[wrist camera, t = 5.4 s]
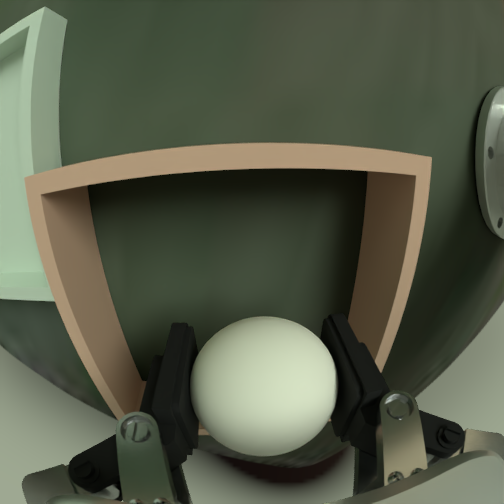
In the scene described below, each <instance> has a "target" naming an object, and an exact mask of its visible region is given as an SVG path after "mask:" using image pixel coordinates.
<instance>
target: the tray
mask: <svg viewBox="0 0 504 504" xmlns="http://www.w3.org/2000/svg"><path fill="white" fill-rule="evenodd" d="M66 25H67V20H66V19H65V18H63V17H62V16H60V15H58V14H57V13H55V12H53V11H52V10H50V9H48V8H46V7H43V8H42V9H40V10H38V11H36V12H34V13H33V14H31V15H29V16H27V17H26V18H24V19H22V20H21V21H19V22H18V23H16V24H14V25H13V26H11V27H10V28H8V29H7V30H5V31H4V32H3V33H1V34H0V299H14V300H34V301H55V300H54V297H53V294H52V292H51V289H50V286H49V283H48V280H47V277H46V274H45V271H44V268H43V264H42V261H41V258H40V254H39V250H38V247H37V243H36V239H35V235H34V231H33V226H32V222H31V217H30V212H29V206H28V200H27V194H26V188H25V180H24V177H28V176H31V175H34V174H37V173H41V172H44V171H48V170H51V169H55V168H59V167H62V164H61V153H60V137H59V86H60V71H61V60H62V51H63V44H64V37H65V31H66Z"/></svg>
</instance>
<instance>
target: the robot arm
mask: <svg viewBox="0 0 504 504" xmlns="http://www.w3.org/2000/svg"><path fill="white" fill-rule="evenodd" d="M475 172H476V185H477V192H478V198H479V204H480V207H481V211H482V215H483V218H484V220H485V222H486V224H487V226H488V228H489V229H490V230H491V232H492V233H494V234H495V235H497V236H498V237H500V238H502V239H504V86H497V87H495V88H493V89H492V90H491V91H490V92H489V93H488V95H487V96H486V98H485V100H484V103H483V105H482V108H481V112H480V116H479V120H478V127H477V134H476V148H475ZM320 340H321V341H322V343H323V344H324V345H325V347H326V348H327V349H328V351H329V353H330V355H331V356H332V359H333V361H334V363H335V366H336V370H337V374H338V396H337V400H336V404H335V408H334V410H333V413H332V415H331V417H330V419H331V422H332V426H333V429H334V432H335V435H336V436H337V437H338V436H340V438H341V441H342V442H345V441H349V440H350V443H351V446H354V447H355V467H354V486H353V496H352V497H349V498H345V499H342V500H337V501H333V502H328V503H325V504H504V436H502V435H501V434H499V433H493V432H485V431H479V430H473V429H466V430H465V431H463V429H462V428H461V426H460V425H459V424H457V423H455V422H452V421H449V420H446V419H443V418H440V417H437V416H435V415H432V414H429V413H426V412H423V411H421V410H419V409H418V405H417V402H416V400H415V399H414V397H413V396H412V395H410V394H409V393H407V392H404V391H391V392H390V390H389V388H388V386H387V384H386V382H385V380H384V378H383V376H382V374H381V372H380V371H379V369H378V367H377V365H376V363H375V361H374V359H373V357H372V355H371V354H370V352H369V350H368V348H367V346H366V345H365V343H363V342H360V343H359V341H358V339H357V337H356V336H355V334H354V332H353V330H352V328H351V326H350V324H349V323H348V321H347V319H346V317H345V315H344V314H343V313H340V314H330V315H329V316H328V318H327V319H324V321H323V326H322V332H321V338H320ZM197 356H198V350H197V345H196V340H195V335H194V330H193V327H192V326H191V327H188V324H187V323H172V326H171V330H170V333H169V337H168V341H167V345H166V349H165V353H164V356H161V355H155V356H154V358H153V360H152V364H151V368H150V371H149V375H148V379H147V382H146V386H145V390H144V394H143V398H142V402H141V406H140V410H139V412H132V413H128V414H126V415H125V416H123V417H122V418H121V419H120V420H119V422H118V424H117V426H116V434H115V435H113V436H111V437H110V438H108V439H106V440H104V441H103V442H101V443H99V444H97V445H95V446H93V447H91V448H89V449H87V450H86V451H84V452H82V453H80V454H78V455H76V456H75V457H73V458H72V460H71V461H70V462H69V465H67V466H65V465H64V464H61V465H58V466H55V467H52V468H49V469H45V470H42V471H39V472H35V473H31V474H28V475H27V476H25V478H24V479H23V481H22V489H23V492H24V495H25V498H26V501H27V504H193V503H192V501H191V497H190V494H189V490H188V487H187V484H186V480H185V477H184V473H183V469H182V465H181V464H182V463H183V462H185V461H186V460H187V455H192V451H193V448H195V449H197V447H198V433H199V420H198V418H197V416H196V414H195V412H194V409H193V406H192V402H191V397H190V377H191V372H192V368H193V365H194V362H195V360H196V358H197ZM122 500H123V502H121V501H122Z"/></svg>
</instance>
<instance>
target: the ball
mask: <svg viewBox="0 0 504 504" xmlns="http://www.w3.org/2000/svg"><path fill="white" fill-rule="evenodd" d="M337 396H338V374H337V370H336V366H335V363H334V361H333V359H332V356H331V355H330V353H329V351H328V349H327V348H326V347H325V345H324V344H323V343H322V341H321V340H320V339H319V338H318V337H317V336H316V335H314V334H313V333H312V332H311V331H310V330H308V329H307V328H305V327H303V326H301V325H300V324H297V323H295V322H293V321H290V320H287V319H283V318H278V317H270V316H260V317H251V318H247V319H243V320H240V321H237V322H235V323H232V324H230V325H228V326H226V327H225V328H223V329H221V330H220V331H219V332H217V333H216V334H215V335H214V336H213V337H212V338H210V339H209V340H208V341H207V342H206V344H205V345H204V346H203V348H202V349H201V351H200V352H199V354H198V356H197V358H196V360H195V362H194V365H193V368H192V372H191V377H190V397H191V402H192V406H193V409H194V412H195V414H196V416H197V418H198V420H199V422H200V423H201V425H202V426H203V427H204V428H205V430H206V431H207V432H208V433H209V434H210V435H211V436H212V437H213V438H214V439H215V440H217V441H218V442H219V443H221V444H223V445H224V446H226V447H227V448H230V449H232V450H234V451H237V452H240V453H243V454H247V455H254V456H274V455H279V454H284V453H287V452H290V451H292V450H295V449H297V448H299V447H301V446H303V445H304V444H306V443H307V442H309V441H310V440H311V439H313V438H314V437H315V436H316V435H317V434H318V433H319V432H320V431H321V430H322V429H323V428H324V426H325V425H326V423H327V422H328V420H329V419H330V417H331V415H332V413H333V410H334V408H335V404H336V400H337Z"/></svg>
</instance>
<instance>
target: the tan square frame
mask: <svg viewBox="0 0 504 504" xmlns="http://www.w3.org/2000/svg"><path fill="white" fill-rule="evenodd" d="M431 162H432V157H427V156H422V155H416V154H411V153H405V152H398V151H392V150H385V149H377V148H368V147H359V146H348V145H335V144H318V143H290V142H252V143H223V144H206V145H193V146H182V147H172V148H163V149H155V150H147V151H140V152H133V153H127V154H121V155H115V156H109V157H104V158H98V159H93V160H89V161H84V162H79V163H75V164H71V165H66V166H63V167H59V168H55V169H51V170H48V171H44V172H41V173H37V174H34V175H31V176H28V177H24V180H25V188H26V194H27V200H28V206H29V212H30V217H31V222H32V226H33V231H34V235H35V239H36V243H37V247H38V250H39V254H40V258H41V261H42V264H43V268H44V271H45V274H46V277H47V280H48V283H49V286H50V289H51V292H52V294H53V297H54V300H55V302H56V305H57V308H58V310H59V313H60V315H61V317H62V320H63V322H64V324H65V327H66V329H67V331H68V333H69V336H70V338H71V340H72V342H73V344H74V346H75V348H76V350H77V352H78V354H79V356H80V358H81V360H82V362H83V364H84V366H85V368H86V369H87V371H88V373H89V375H90V377H91V378H92V380H93V382H94V383H95V385H96V387H97V389H98V390H99V392H100V393H101V395H102V397H103V398H104V400H105V401H106V403H107V404H108V406H109V408H110V409H111V411H112V412H113V414H114V415H115V416H116V418H117V419H118V421H119V420H120V419H121V418H122V417H123V416H125V415H126V414H128V413H132V412H139V410H140V406H141V402H142V398H143V394H144V390H145V386H146V382H147V381H142V379H141V377H140V375H139V373H138V370H137V368H136V365H135V363H134V361H133V358H132V356H131V353H130V351H129V348H128V345H127V343H126V340H125V337H124V335H123V332H122V329H121V326H120V323H119V320H118V317H117V314H116V311H115V308H114V305H113V302H112V298H111V295H110V292H109V288H108V285H107V281H106V277H105V273H104V270H103V266H102V262H101V257H100V253H99V249H98V244H97V240H96V235H95V230H94V225H93V219H92V214H91V208H90V201H89V194H88V187H87V185H91V184H97V183H103V182H110V181H116V180H123V179H131V178H138V177H146V176H155V175H165V174H175V173H186V172H199V171H214V170H233V169H264V168H312V169H342V170H361V171H368V174H367V190H366V202H365V213H364V223H363V231H362V240H361V247H360V254H359V261H358V268H357V274H356V280H355V286H354V291H353V297H352V302H351V307H350V312H349V317H348V323H349V324H350V326H351V328H352V330H353V332H354V334H355V336H356V337H357V339H358V341H359V343H360V342H363V343H365V345H366V346H367V348H368V350H369V352H370V354H371V355H372V357H373V359H374V361H375V363H376V365H377V367H378V369H379V371H380V372H382V370H383V367H384V365H385V362H386V360H387V357H388V355H389V352H390V350H391V347H392V344H393V342H394V339H395V336H396V333H397V330H398V327H399V324H400V321H401V318H402V315H403V312H404V309H405V306H406V302H407V299H408V295H409V292H410V288H411V284H412V280H413V276H414V272H415V268H416V264H417V260H418V255H419V250H420V245H421V240H422V235H423V229H424V223H425V217H426V210H427V203H428V195H429V186H430V175H431ZM328 421H331V419H329V420H328ZM198 435H210V434H209V433H208V432H207V431H206V430H205V428H204V427H203V426H202V425H201V423H200V422H199V433H198Z"/></svg>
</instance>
